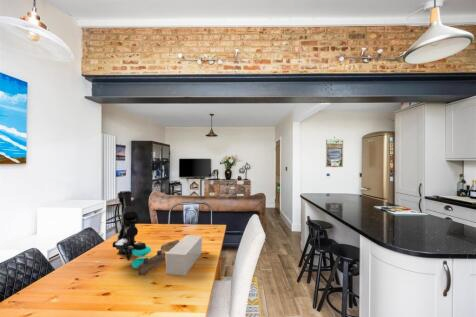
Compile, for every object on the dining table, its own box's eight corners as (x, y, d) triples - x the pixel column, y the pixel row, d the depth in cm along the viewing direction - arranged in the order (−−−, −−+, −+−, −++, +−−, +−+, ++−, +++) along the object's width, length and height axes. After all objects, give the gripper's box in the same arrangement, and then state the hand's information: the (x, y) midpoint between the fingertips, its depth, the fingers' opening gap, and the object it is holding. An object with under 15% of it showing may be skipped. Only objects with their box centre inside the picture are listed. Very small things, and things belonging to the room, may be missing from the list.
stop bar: (138, 275, 126) (138, 261, 126) (160, 260, 145) (161, 248, 146) (142, 275, 125) (143, 262, 126) (165, 261, 145) (165, 249, 145)
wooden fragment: (168, 253, 158) (168, 251, 158) (153, 251, 161) (153, 249, 161) (186, 241, 183) (186, 239, 183) (172, 239, 186) (172, 238, 186)
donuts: (150, 244, 144) (151, 249, 135) (149, 261, 144) (151, 267, 135) (131, 246, 140) (132, 252, 131) (131, 263, 140) (131, 270, 131)
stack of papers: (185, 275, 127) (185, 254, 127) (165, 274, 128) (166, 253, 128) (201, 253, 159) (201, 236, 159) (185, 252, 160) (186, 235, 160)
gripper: (105, 234, 135) (104, 263, 135) (132, 238, 130) (132, 268, 130) (120, 229, 146) (119, 256, 146) (146, 232, 141) (145, 260, 140)
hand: (128, 260), depth 140 cm, fingers closed
